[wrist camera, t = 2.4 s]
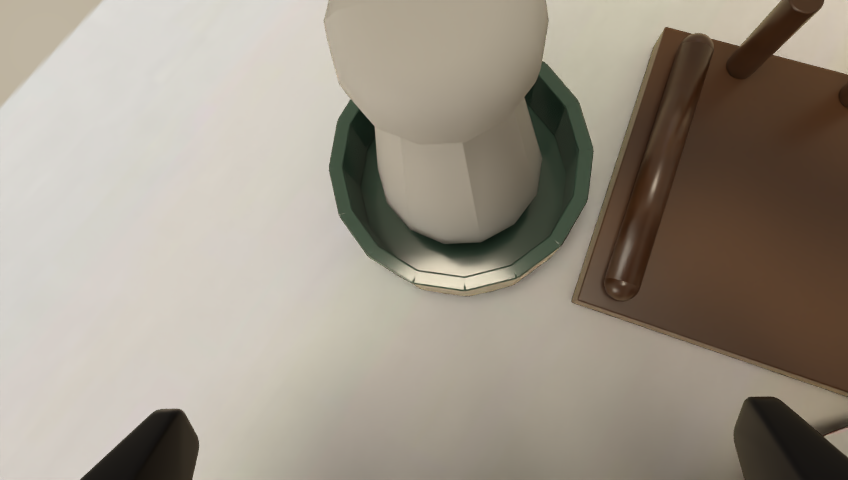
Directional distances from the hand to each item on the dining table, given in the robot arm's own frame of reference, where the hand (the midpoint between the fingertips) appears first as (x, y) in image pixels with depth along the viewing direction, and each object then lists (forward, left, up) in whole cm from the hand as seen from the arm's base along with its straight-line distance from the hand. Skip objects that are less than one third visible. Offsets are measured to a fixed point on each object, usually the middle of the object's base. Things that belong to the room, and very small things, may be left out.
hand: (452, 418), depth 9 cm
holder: (+6, -4, -13) cm, 15 cm away
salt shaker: (+6, -4, -13) cm, 15 cm away
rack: (-3, -13, -13) cm, 19 cm away
